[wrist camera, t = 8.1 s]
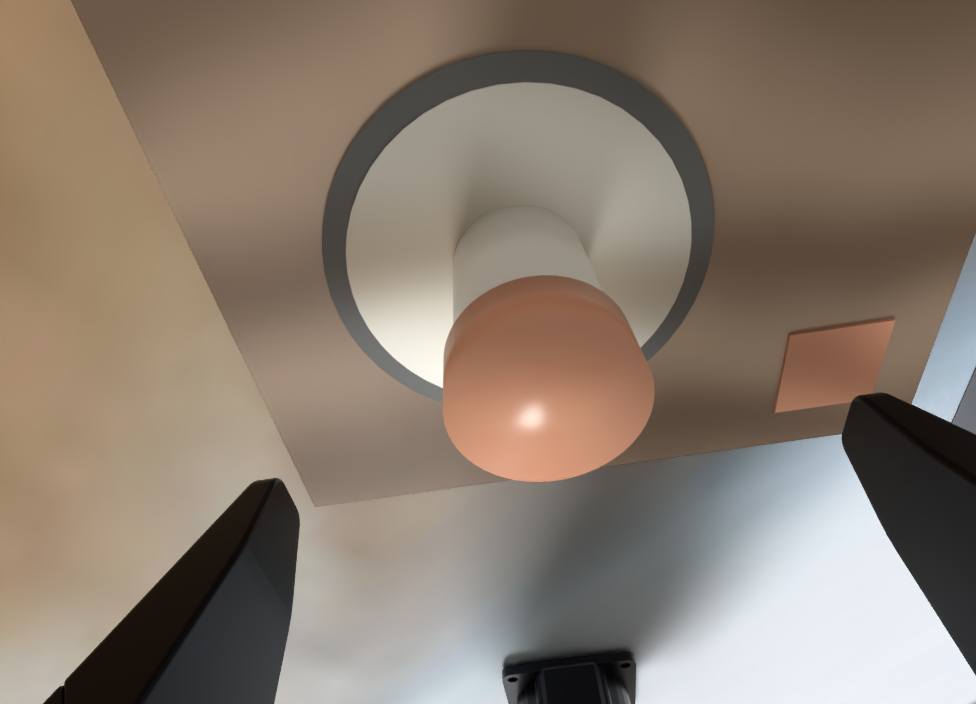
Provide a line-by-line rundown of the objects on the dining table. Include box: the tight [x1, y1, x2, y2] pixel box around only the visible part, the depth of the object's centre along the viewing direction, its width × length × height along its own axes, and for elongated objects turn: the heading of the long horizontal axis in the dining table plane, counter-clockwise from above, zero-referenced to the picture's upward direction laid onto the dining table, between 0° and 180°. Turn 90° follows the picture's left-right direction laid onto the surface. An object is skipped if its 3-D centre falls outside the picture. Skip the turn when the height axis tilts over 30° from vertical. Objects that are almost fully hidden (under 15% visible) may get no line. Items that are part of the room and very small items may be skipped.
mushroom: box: [443, 205, 655, 482], centre depth 13 cm, size 4×4×6 cm
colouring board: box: [71, 0, 976, 507], centre depth 15 cm, size 16×20×1 cm
